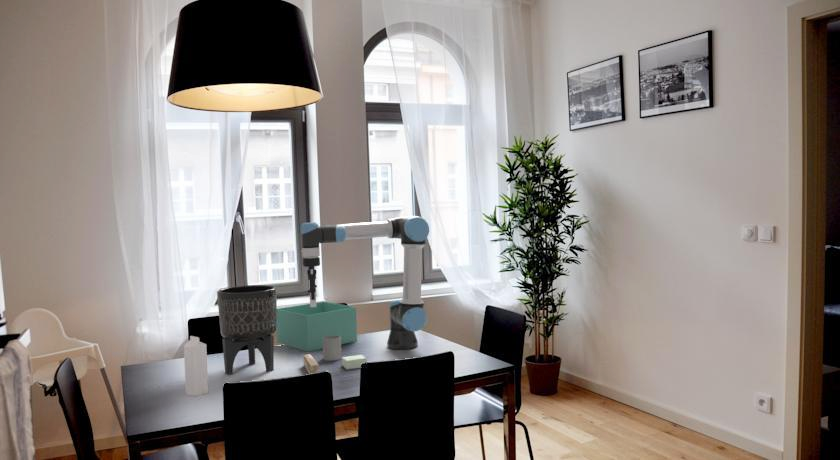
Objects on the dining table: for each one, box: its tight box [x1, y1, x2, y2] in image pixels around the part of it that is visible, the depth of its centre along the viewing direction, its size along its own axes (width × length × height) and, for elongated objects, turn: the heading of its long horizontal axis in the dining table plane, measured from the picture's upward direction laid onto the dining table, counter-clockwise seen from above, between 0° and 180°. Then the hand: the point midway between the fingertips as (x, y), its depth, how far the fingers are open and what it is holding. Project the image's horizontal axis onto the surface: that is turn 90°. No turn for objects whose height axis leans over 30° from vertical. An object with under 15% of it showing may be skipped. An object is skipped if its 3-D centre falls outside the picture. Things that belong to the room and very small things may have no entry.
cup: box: [322, 335, 342, 362], centre depth 284 cm, size 8×8×10 cm
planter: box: [216, 284, 278, 376], centre depth 268 cm, size 25×25×36 cm
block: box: [341, 354, 367, 370], centre depth 269 cm, size 9×7×4 cm
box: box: [276, 301, 358, 352], centre depth 320 cm, size 30×30×18 cm
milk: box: [183, 335, 209, 397], centre depth 236 cm, size 6×6×22 cm
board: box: [302, 353, 320, 375], centre depth 263 cm, size 3×20×5 cm, turn 20°
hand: (313, 304), depth 274 cm, fingers open, 13 cm apart
